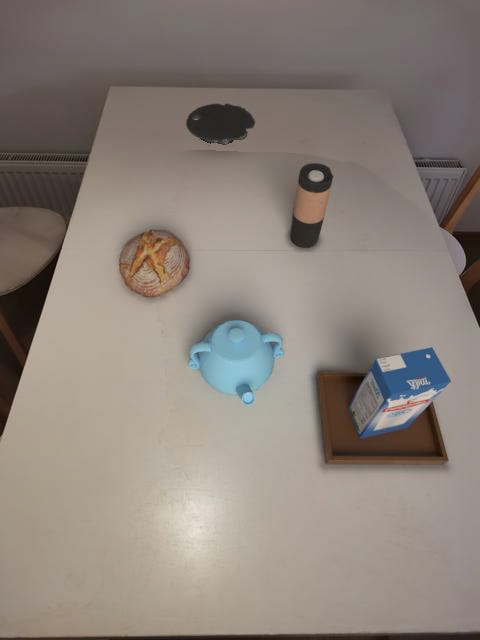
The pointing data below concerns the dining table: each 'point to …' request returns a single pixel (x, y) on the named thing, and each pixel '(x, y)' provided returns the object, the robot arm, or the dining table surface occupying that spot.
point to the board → (220, 123)
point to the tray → (383, 449)
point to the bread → (153, 263)
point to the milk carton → (397, 391)
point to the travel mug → (310, 204)
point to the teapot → (236, 358)
